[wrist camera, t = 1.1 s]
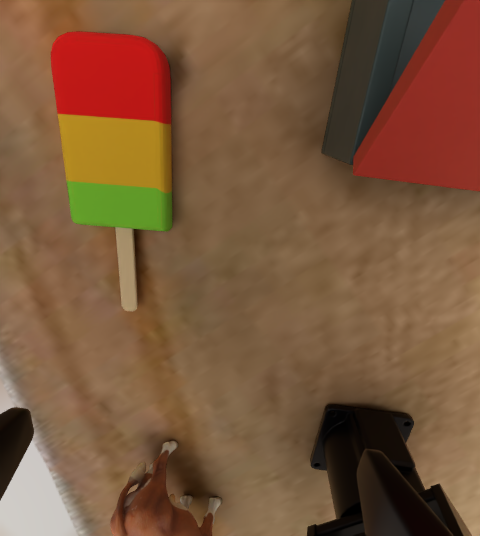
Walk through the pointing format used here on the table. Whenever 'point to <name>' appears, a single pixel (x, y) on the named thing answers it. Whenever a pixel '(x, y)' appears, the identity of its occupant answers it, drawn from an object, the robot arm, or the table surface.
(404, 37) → the open rectangular box
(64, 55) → the popsicle
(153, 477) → the bull figurine
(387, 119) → the lid
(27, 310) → the table surface
